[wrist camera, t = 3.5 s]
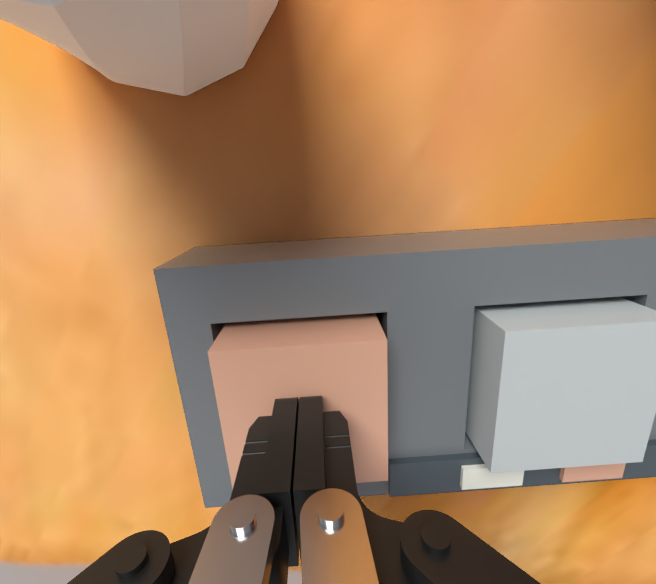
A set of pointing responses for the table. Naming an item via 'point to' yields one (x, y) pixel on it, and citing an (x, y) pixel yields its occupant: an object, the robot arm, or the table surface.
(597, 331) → the grey key
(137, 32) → the vase
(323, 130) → the table surface
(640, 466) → the keypad housing
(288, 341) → the terracotta key
